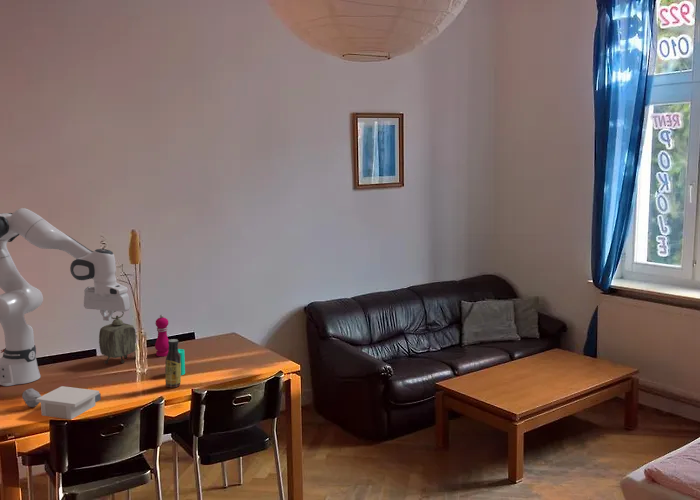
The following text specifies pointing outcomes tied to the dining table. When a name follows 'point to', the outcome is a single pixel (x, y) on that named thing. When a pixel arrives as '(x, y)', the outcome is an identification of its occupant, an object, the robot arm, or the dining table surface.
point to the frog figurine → (31, 397)
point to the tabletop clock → (117, 339)
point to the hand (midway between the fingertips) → (107, 320)
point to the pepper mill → (162, 337)
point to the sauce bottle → (173, 365)
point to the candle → (182, 360)
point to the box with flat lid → (67, 402)
